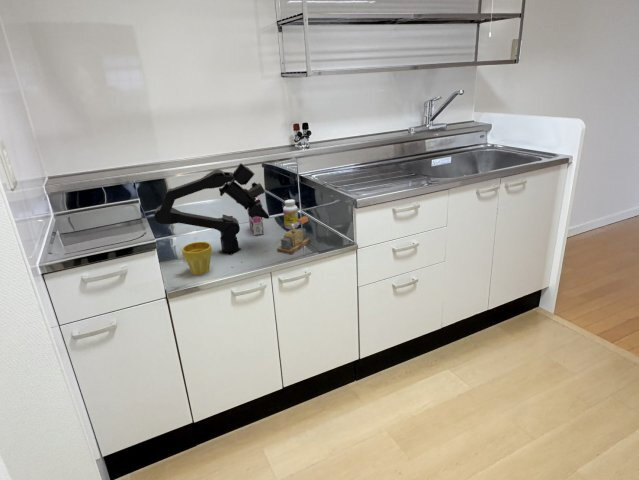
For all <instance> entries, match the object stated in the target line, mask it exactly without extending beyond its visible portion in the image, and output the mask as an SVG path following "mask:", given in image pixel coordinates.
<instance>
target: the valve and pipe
mask: <svg viewBox="0 0 639 480" xmlns="http://www.w3.org/2000/svg"><path fill="white" fill-rule="evenodd" d="M306 238H308V237H307V232H306V228H302V227H299V228H291V229H289V231H286V232H285V233H284V235H283V237H282V238H281V239H280V246H281V248H283V249H288V250H290V249H291V248H293V246H296V245H298V244H299V243H301V242H302V241H303V240H305V239H306Z"/></svg>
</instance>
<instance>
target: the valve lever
mask: <svg viewBox="0 0 639 480" xmlns="http://www.w3.org/2000/svg"><path fill="white" fill-rule="evenodd" d="M308 221H309V217H308V216H305V215H304V216H301V217H300V218H298V220H297V222H295V223H290V228H295V229H297V228H296V226H297V225H300V226H301V225H303V224H305V223H307V222H308Z"/></svg>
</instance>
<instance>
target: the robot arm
mask: <svg viewBox="0 0 639 480" xmlns="http://www.w3.org/2000/svg"><path fill="white" fill-rule="evenodd" d="M254 176H255V172H253V170H252V169H250V168H249V167H248V166H246V165H244V164H243V163H242V162H241V163H239V164H238V166H237V168H235V169H234V171H233V172H232V171H231V172H230V171H223V170H222V169H214V170H212V171H210V172H209V173H207V174H206V175H204V176H203V177H201V178H199V179H196V180H193V181H190V182H187V183H184V184H182V185H179V186H175V187H173V188H169V189H167V191H166V193H165V196H164V198H163V200H162V202H161V204H160V205H159V206H158V207H157V208H156V210H155V213H154V215H153V216H154V217H153V218H154V220H155V222H156V223H157V224H160V225H174V224H181V225H182V224H183V225H189V226H192V227H194V226H195V227H200V228H204V229H205V228H206V229H213V230H217V231H218V232H220V237H219V239H220V246H221V250H220V251H219V253H221V254H225V255H230V256H232V255H233V254H235V253H237V252H239V251H241V250H242V248H241V247H240V245H239V240H238V237H237V235H238V234H239V233H240V230H241V227H240V223H239V221H238V219H237V218H235V217H234V216H233V215H227V214H222V217H218V218H216V217H212V216H205V215H200V214H195V213H190V212H189V213H188V212H183V211H180V210H178V209H176V208H174V207H173V205H174V203H175V201H176V200H177V199H181V198H183V197H186V196H189V195H192V194H195V193H197V192H200V191H203V190H206V189H207V190H208V189H209V190H210V189H217V188H218V191H219V196H220V197H223V195H225V194H226V195H227V196H229V197H230V198H231V199H233V200H234V201H235V202H236V204H239V205H240V206H242V207H243V208H244V209H245V211H247V215H248V217H249V216H250V217H251V218H254V216H258V217H262V219H266V220H267V219H268V220H269V219H270V215H269V214H268V212H267V211H266V210H265V209H264V208H263V205H262V202H260V201H261V199H260V198H259V199H260V200H259V199H258V200H257V201H255V200H256V198H257V196H258V197H259V196H260V195H263V194H264V193H266V191H265V189H264V187H263V185H262V184H261V183H259V182H258V183H257V182H253V183H251V187H250V188H249V189H247V188H244V187H243V186H244V185H245V186H246V185H247V184H248V183H249V182H250V180H252V179H253V177H254ZM255 197H256V198H255ZM248 208H249V209H248Z"/></svg>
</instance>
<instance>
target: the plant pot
mask: <svg viewBox="0 0 639 480" xmlns="http://www.w3.org/2000/svg"><path fill="white" fill-rule="evenodd" d="M212 250H213V249H212V244H211V243H210V242H207V241H195V242H190V243H188V244H187V243H186V244H185V245H184V246H183V247H182V248H181V252H182V257H183V259H184V260H185V261H186V263H187V265H188V267H189V271H190V272H191V274H192V275H196V276H197V275H204V274H207V273H208V272H209V271H210V268H211V267H210V266H211V265H210V264H211V256H212V254H213V251H212Z"/></svg>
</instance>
